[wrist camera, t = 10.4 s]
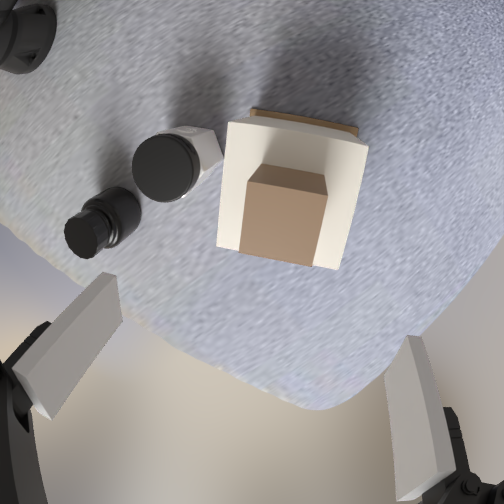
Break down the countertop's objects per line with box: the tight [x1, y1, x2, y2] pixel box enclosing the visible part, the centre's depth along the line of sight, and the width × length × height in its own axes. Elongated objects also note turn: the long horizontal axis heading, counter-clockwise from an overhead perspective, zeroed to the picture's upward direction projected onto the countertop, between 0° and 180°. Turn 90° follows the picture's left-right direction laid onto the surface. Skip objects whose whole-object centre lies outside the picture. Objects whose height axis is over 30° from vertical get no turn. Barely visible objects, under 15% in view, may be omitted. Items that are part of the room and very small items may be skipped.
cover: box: [217, 116, 369, 270], centre depth 34 cm, size 13×13×22 cm
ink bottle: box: [64, 187, 141, 259], centre depth 46 cm, size 10×9×12 cm
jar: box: [132, 125, 224, 202], centre depth 40 cm, size 9×8×12 cm
